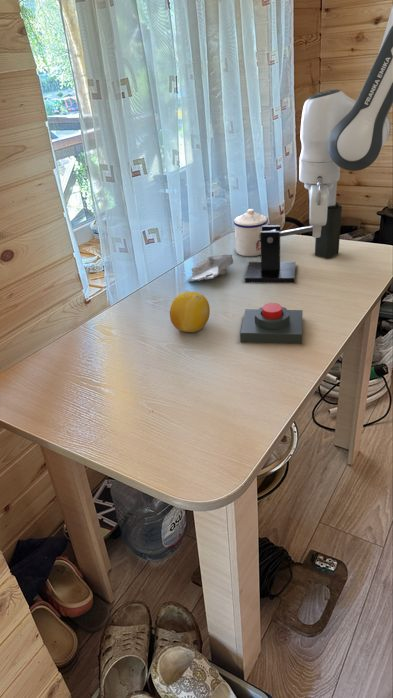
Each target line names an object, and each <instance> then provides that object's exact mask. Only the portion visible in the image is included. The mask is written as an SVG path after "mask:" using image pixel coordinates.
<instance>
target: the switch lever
mask: <svg viewBox="0 0 393 698" xmlns="http://www.w3.org/2000/svg"><path fill="white" fill-rule="evenodd" d="M266 231H276V229H272V230H266ZM311 232H313V226H311V225H308V226H302V227H297V228H292V229H287V230H282V231H281V230H280V238H281V237H287V236H293V235H299V234H303V233H311Z"/></svg>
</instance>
